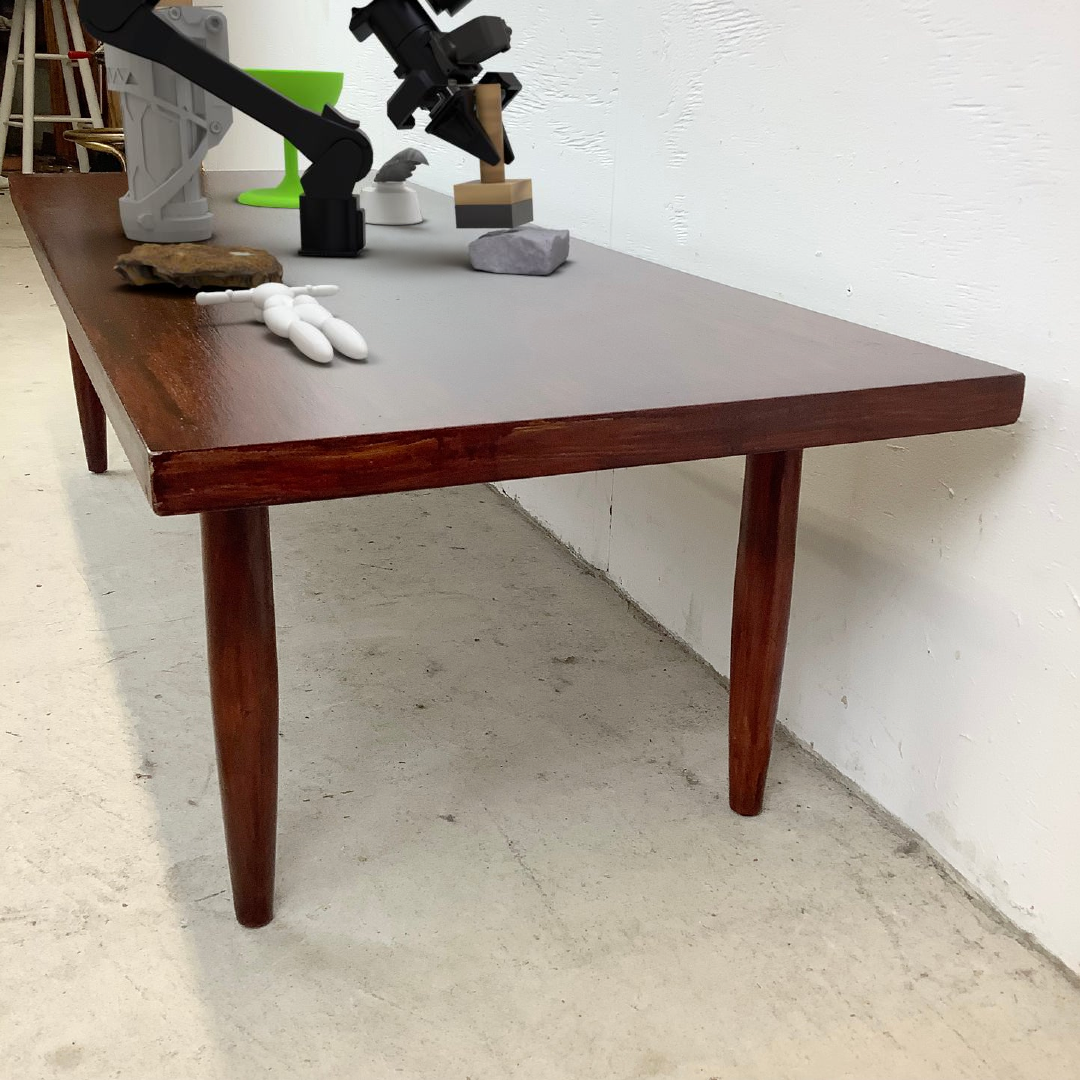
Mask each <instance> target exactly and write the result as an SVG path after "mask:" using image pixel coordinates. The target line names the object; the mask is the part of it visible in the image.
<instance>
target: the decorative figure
mask: <svg viewBox="0 0 1080 1080" xmlns="http://www.w3.org/2000/svg"><path fill="white" fill-rule="evenodd" d="M339 293H340V288H339V286H337V285H334V284H323V285H321V284H320V285H312V284H306V285H305V286H292V287H291V286H287V284H285V283H283V284H280V283H266V284H262V285H260V286H258V287H256V288H252V289H250V288H249V289H244V290H234V291H233V290H232V289H226V290H225V291H214V292H211V291H210V292H204V291H201V292H198V293H197V294H196V296H195V302H196V304H197V305H198V306H201V307H205V306H210V305H223V304H227V303H229V302H231V303H236V304H237V303H240V304H241V303H251V302H252V305H253V308H252V314H253V317H254V319H255V320H256V321H257V322H259V323H265V325H266V326H267V327H268V329H269V330H270V331H271V332H272V333H274V334H275V335H277V336H279V337H281V338H285V339H289V340H290V341H291V342H292V343H293V344H294V345H295V346H296V348H297V349H298V350H299V352H301V353H302V354H304V355H305V356H306V357H308V358H309V359H311V360H313V361H315V362H317V363H321V364H322V363H324V364H327V363H329V362H331V361H332V360H333V358H334V349H333V348H335V350H337V351H338V352H340V353H341V354H343V355H344V356H346V357H349V358H351V359H354V360H363V359H365V358H367V356H368V354H369V348H368V347H369V346H368V345H367V342H366V340H365V339H364V337H363V335H362V334H360V333H359V331H358V330H356V329H355V328H354V327H353V326H352V325H350V324H349V323H348V322H346V321H344V320H342V319H340V318H336V317H334V316H333V313H331V312H330V311H329V310H328V309H327V308H325V307H324V306H322V305H320V304H319V302H318V300H317V299H316V298H324V297H325V298H326V297H334V296H337V295H338V294H339Z"/></svg>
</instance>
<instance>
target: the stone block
mask: <svg viewBox="0 0 1080 1080" xmlns="http://www.w3.org/2000/svg"><path fill="white" fill-rule="evenodd" d="M570 246H571V245H570V230H569V229H554V228H542V227H541V226H531V225H528V226H527V225H521V226H518V227H515V228H508V229H496V230H491V231H489V232H487V233H484V234H482V235H480V236H479V237H478V238H477V239H475V240H473V241H471V242H469V244H468V246H467V247H468V249H467V255H468V258H469V261H470V264H471V266H472V267H473V269H474V270H477V271H478V270H480V271H481V270H482V271H485V272H489V273H495V274H520V275H537V276H548V275H550V274H551V273H553V272H554V271H555V270H556V269H557V268H559V267H560V266H561V265H562V264H564V262H565V261H566V260H567V259H568V257H569V253H570Z"/></svg>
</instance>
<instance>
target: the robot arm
mask: <svg viewBox="0 0 1080 1080" xmlns="http://www.w3.org/2000/svg"><path fill="white" fill-rule="evenodd" d="M161 1H162V0H78V2H77V11H78V17H79V20H80V23H81V25H82V27H83V30H84V31H85V32H86V33H87V34H88V35H89V36H91V37H92V38H93V39H94V40H96V41H99V42H101V43H103V44H104V43H106V44H108V45H111V46H113V47H116V48H118V49H121V50H123V51H126V52H128V53H131V54H134V55H137V56H140V57H142V58H145V59H148V60H151V61H154V62H156V63H159V64H162V65H164V66H166V67H168V68H169V69H171V70H173V71H174V72H176V73H178V74H179V75H181V76H183V77H184V78H186V79H188V80H189V81H191V82H193V83H194V84H196V85H198V86H199V87H201V88H203V89H204V90H206V91H208V92H209V93H211V94H213V95H214V96H216V97H218V98H219V99H221V100H223V101H224V102H226V103H228V104H229V105H231V106H232V108H235V109H236V110H238V111H239V112H241V113H242V114H245V115H246V116H248V117H250V118H251V119H253V120H254V121H256V122H258V123H259V124H261V125H263V126H264V127H266V128H268V129H270V130H271V131H273V132H274V133H276V134H277V135H280V136H281V137H283V139H284V138H286V139H287V140H288V141H289V142H290V143H291V144H292V145H293V146H294V147H295V148H297V151H299V153H301V155H302V156H304V157H305V158H306V160H308V161H309V162H311V164H310V165H309V166H308V167H306V169H305V170H304V171H303V173H302V175H301V177H300V183H301V185H302V188H303V191H304V193H302V194H300V195H299V208H298V209H299V228H300V230H299V231H300V248H299V249H298V250H297V254H298V255H300V256H301V255H302V256H327V257H330V256H331V257H332V256H333V257H335V256H336V257H358V256H359V255H360V254H361V252H362V251H363V250H364V248H365V247H366V245H367V229H366V227H367V226H366V225H367V223H365V209H364V208H360V193H354V189H355V186H356V184H357V183H359V182H361V181H362V180H363V179H365V178H366V177H367V176H368V174H369V173H370V172H371V170H372V167H373V165H374V148H373V147H374V146H373V144H372V141H371V139H370V137H369V136H368V134H367V133H366V132H365V131H364V130H363V129H361V128H360V126H361V121H360V120H359V119H352V118H350V117H348V116H346V115H345V114H343V113H342V112H340V111H339V110H338V109H337V108H336V107H335V106H334V107H333V106H332V105H331V104H330V103H328V102H327V103H326V104H325V105H324V108H323V111H322V113H320V112H317V111H314V110H311V109H309V108H306V107H303V106H301V105H299V104H298V103H296V102H294V101H293V100H291V99H289V98H288V97H286V96H284V95H283V94H281V93H280V92H278V91H276V90H275V89H273V88H271V87H270V86H268V85H266V84H265V83H263V82H262V81H260V80H258V79H257V78H255V77H253V76H252V75H250V74H248V73H247V72H245V71H244V70H242V69H243V68H240V67H238V65H236V64H233V63H232V62H231V61H230V60H229V61H227V60H225V59H224V58H222V57H221V56H219V55H217V54H216V53H214V52H212V51H211V50H209V49H207V48H206V47H204V46H203V45H201V44H199V43H198V42H196V41H194V39H193V38H190V37H188V36H186V35H185V34H183V33H182V32H181V31H180V30H179V29H177V28H176V27H175V26H174V25H173V24H172V23H171V22H170V21H169V20H168V19H167V18H166V17H165V16H164V15H163V14H161V13H160V12H159V11H158V10H157V9H156V8H157V7H156V6H157V5H158V4H159V3H160V2H161ZM424 1H425V2H426V4H427V5H428V6H429V8H430V9H431V11H432V12H433V13H434V14H435V16H437V17H438V16H440V14H442V13H443V12H445V13H446V14H447V15H448V16H449V17H450V18H453V17H454V16H455V15H457V14H458V13H459V12H461V11H462V10H463V9H464V8H466V7H467V6H468V5H469V4H471V2H473V0H424ZM350 11H351V17H350V21H349V23H348V24H349V25H348V30H349V32H351V34H352V35H353V37H354V38H355V39H356V41H357V42H358V43H363V42H365V41H366V40H367V39H369V37H370V36H372V35H374V36H375V37H376V39H377V40H378V41H379V43H380V44H381V46H383V48H384V50H386V52H387V53H388V55H389V56H390V57H391V59H392V60H393V61H394V62H395V64H396V65H397V66H396V67H395V68H394V69H393V71H392V72H393V74H394V75H395V77H396V78H397V79H398V80H403V81H402V82H401V83H400V84H399V86H398V87H397V88H396V90H395V91H393V93H392V95H391V96H390V97H389V98H388V100H387V101H386V116H387V118H388V119H389V120H390V123H392V125H393V126H394V127H395V128H396V130H397V131H406V130H413V129H414V128H415V127H416V118H415V117H414V115H413V114H414V113H415V111H416V110H417V109H418V108H419V109H420V110H421V111H426V112H427V111H428V112H429V113H428V114H427V115H428V117H429V119H430V122H429V123H428V124H427V125H426V126H425V128H424V133H426V134H427V135H432V136H435V137H436V138H438V139H441V140H442V141H445V142H446V143H448V144H450V145H452V146H454V147H456V148H458V149H459V150H462V151H464V152H466V153H467V154H470V155H471V156H473V157H475V158H477V159H478V160H479V159H480V160H482V161H484V162H486V163H488V164H489V165H491V166H496V165H497V164H498V163H499V162H500V161H501V158H500V156H499V154H498V152H497V150H496V148H495V146H494V144H493V143H492V141H491V139H490V138H489V136H488V134H487V133H486V131H485V129H484V128H483V126H482V124H481V123H480V121H479V119H478V118H477V111H476V95H475V85H483V84H500V89H501V108H502V112H503V111H504V110H505V109H506V108H507V106H509V105H510V103H511V102H512V101H513V100H514V99H515V98H516V97H517V96H518V95H519V93H520V92H521V91H522V90H523V84H522V83H521V82H520V80H519V79H518V77H517V76H516V75H515V74H514V72H512V71H511V72H510V71H486V72H485V73H484V75H482V77H481V78H480V79H479V80H478V82H476V83H474V81H473V79H474V78H477V77H478V76H479V75H480V74H481V73H482V72H483V70H484V67H483V65H482V64H481V63H484V62H485V61H487V60H489V59H491V58H493V57H495V56H497V55H499V54H501V53H502V54H505V53H507V52H508V51H510V50H511V48H512V46H511V40H512V37H511V36H512V34H513V29H512V27H510V26H508V25H507V23H506V20H505V19H504V18H502V17H501V16H497V15H486V14H485V15H478V16H476V17H474V18H472V19H470V20H468V21H467V22H464V23H463V24H461V25H460V26H459V25H458V27H456V28H454V29H452V30H450V31H442V30H441V29H440V28H439V26H438V25H437V24H436V23H435V21H434V19H433V18H432V17H431V15H430V14H429V13H428V12H427V10H426V9H425V8H424V6H423V5H422V4H421V2H420V1H419V0H371V1H370V2H369V3H367V5H365V6H361V7H356V6H352V7H351V8H350ZM502 127H503V146H504V165H506V166H509V165H511V164H512V163H513V162H514V161H515V160H516V159H515V158H516V157H515V154H514V150H513V148H512V146H511V145H512V144H511V142H510V139H509V136H508V134H507V130H506V128H505V125H504V122H503V121H502Z"/></svg>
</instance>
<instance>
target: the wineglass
mask: <svg viewBox="0 0 1080 1080" xmlns="http://www.w3.org/2000/svg"><path fill="white" fill-rule="evenodd" d="M241 69H242V70H244V71H245V72H247V73H248V74H250V75H252V76H253V77H255V78H257V79H258V80H260V81H262V82H263V83H265V84H266V85H268V86H270V87H271V88H273V89H275V90H276V91H278V92H280V93H281V94H283V95H284V96H286V97H288V98H289V99H291V100H293V101H294V102H296V103H298V104H299V105H301V106H303V107H306V108H309V109H311V110H314V111H317V112H320V113H322V111H323V108H324V105H325V104H326V103H327V102H328V103H330V104H331V105H332V106H333V107H334V108H335V106H336V105H337V103H338V102H339V99H340V96H341V93H342V91H343V86H344V75H345V72H342V71H341V72H340V71H339V72H338V71H324V70H303V69H302V70H301V69H300V70H298V69H273V68H271V69H270V68H241ZM283 152H284V153H283V154H284V155H283V156H284V177H283V179H282V180H281V182H280V183H279V184H278V185H277V186H276V187H267V188H264V187H263V188H255V189H249V190H245V191H243V192H242V193H241V194H240V195H239V196H238V198H237V202H238V203H240V204H244V205H249V206H254V207H255V206H256V207H265V208H281V209H288V208H289V209H299V195H300V194H302V193H304V191H303V188H302V185H301V183H300V179H301V177H300V175H299V157H298V156H299V155H298V149H297V148H295V147H294V146H293V145H292V144H291V143H290V142H289V141H288V140H287V139H286V138H284V137H283Z"/></svg>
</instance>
